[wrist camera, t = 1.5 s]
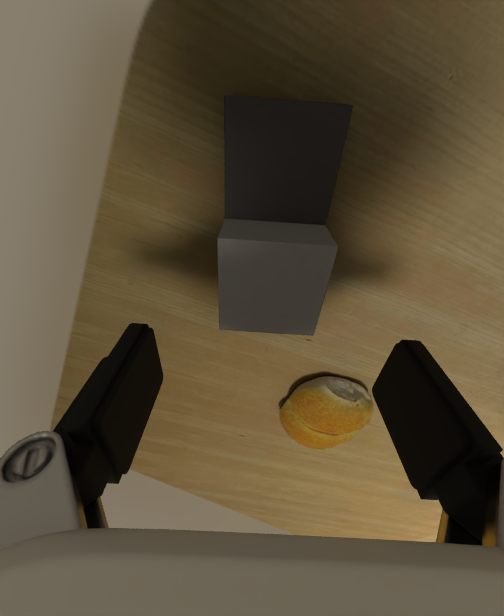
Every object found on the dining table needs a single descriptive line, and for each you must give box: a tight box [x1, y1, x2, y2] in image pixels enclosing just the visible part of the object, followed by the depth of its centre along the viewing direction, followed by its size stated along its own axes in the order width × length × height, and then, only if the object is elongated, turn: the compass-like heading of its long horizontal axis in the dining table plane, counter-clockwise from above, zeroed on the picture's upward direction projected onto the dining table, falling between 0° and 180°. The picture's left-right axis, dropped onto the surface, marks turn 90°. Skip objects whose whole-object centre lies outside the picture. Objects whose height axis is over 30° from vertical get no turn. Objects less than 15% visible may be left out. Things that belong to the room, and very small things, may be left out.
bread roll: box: [280, 376, 373, 449], centre depth 25 cm, size 8×9×4 cm
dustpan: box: [217, 95, 353, 336], centre depth 13 cm, size 11×6×4 cm, turn 177°
